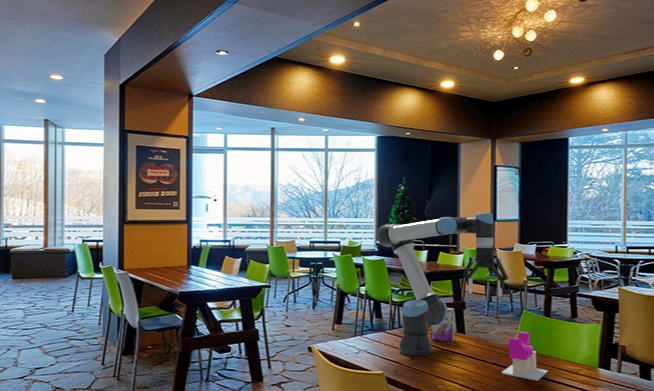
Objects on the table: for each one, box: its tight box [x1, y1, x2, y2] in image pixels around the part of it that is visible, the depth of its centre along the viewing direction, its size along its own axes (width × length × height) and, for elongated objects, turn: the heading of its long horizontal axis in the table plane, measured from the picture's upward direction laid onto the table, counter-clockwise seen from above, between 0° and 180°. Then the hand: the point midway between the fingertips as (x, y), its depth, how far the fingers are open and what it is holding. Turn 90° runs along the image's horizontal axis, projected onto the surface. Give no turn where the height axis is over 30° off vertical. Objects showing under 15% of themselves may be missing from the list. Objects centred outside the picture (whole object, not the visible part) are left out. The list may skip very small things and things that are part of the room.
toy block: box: [508, 331, 534, 360], centre depth 201 cm, size 15×6×8 cm, turn 143°
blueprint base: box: [501, 350, 549, 381], centre depth 202 cm, size 14×14×8 cm
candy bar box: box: [430, 307, 455, 343], centre depth 256 cm, size 11×5×16 cm, turn 66°
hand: (485, 294), depth 223 cm, fingers open, 13 cm apart
